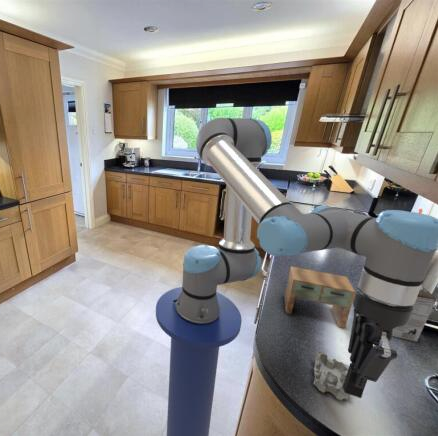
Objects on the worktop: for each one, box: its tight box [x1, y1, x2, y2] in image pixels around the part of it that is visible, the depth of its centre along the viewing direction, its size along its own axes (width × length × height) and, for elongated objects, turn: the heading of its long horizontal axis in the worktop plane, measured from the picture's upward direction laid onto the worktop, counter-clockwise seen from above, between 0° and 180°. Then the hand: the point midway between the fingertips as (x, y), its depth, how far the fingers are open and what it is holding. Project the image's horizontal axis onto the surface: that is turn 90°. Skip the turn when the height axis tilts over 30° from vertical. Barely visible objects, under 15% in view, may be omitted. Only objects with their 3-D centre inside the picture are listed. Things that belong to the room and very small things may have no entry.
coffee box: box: [392, 286, 437, 343], centre depth 77 cm, size 9×6×16 cm
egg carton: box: [313, 349, 350, 402], centre depth 62 cm, size 11×8×4 cm
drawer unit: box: [283, 266, 356, 329], centre depth 85 cm, size 17×10×14 cm, turn 65°
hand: (351, 392), depth 51 cm, fingers closed
